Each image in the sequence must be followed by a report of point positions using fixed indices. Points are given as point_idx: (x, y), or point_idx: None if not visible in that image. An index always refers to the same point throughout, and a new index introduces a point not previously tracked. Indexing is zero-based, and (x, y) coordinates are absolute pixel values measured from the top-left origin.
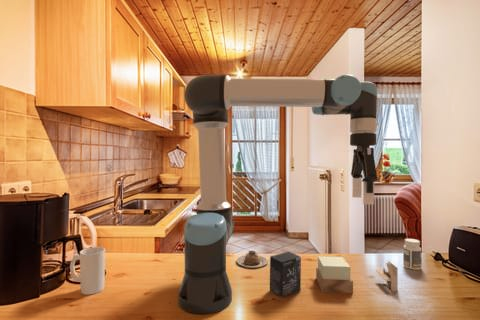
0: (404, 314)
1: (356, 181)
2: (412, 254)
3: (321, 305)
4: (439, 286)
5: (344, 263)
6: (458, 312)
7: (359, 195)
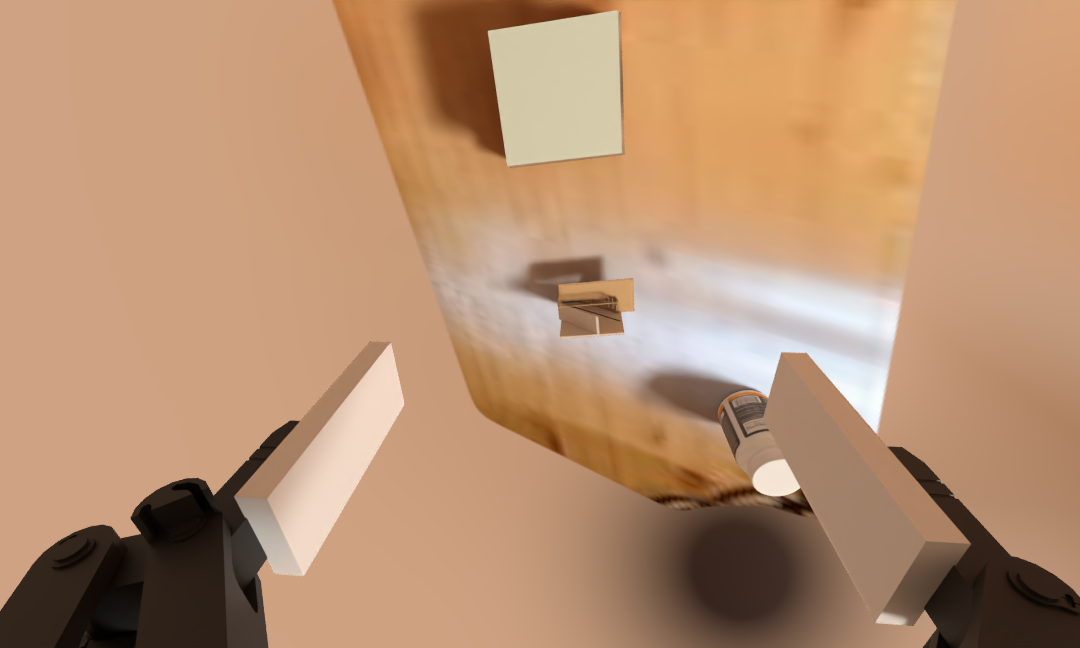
0: (432, 274)
1: (871, 526)
2: (735, 435)
3: (399, 27)
4: (608, 415)
5: (541, 146)
6: (479, 390)
7: (775, 417)
